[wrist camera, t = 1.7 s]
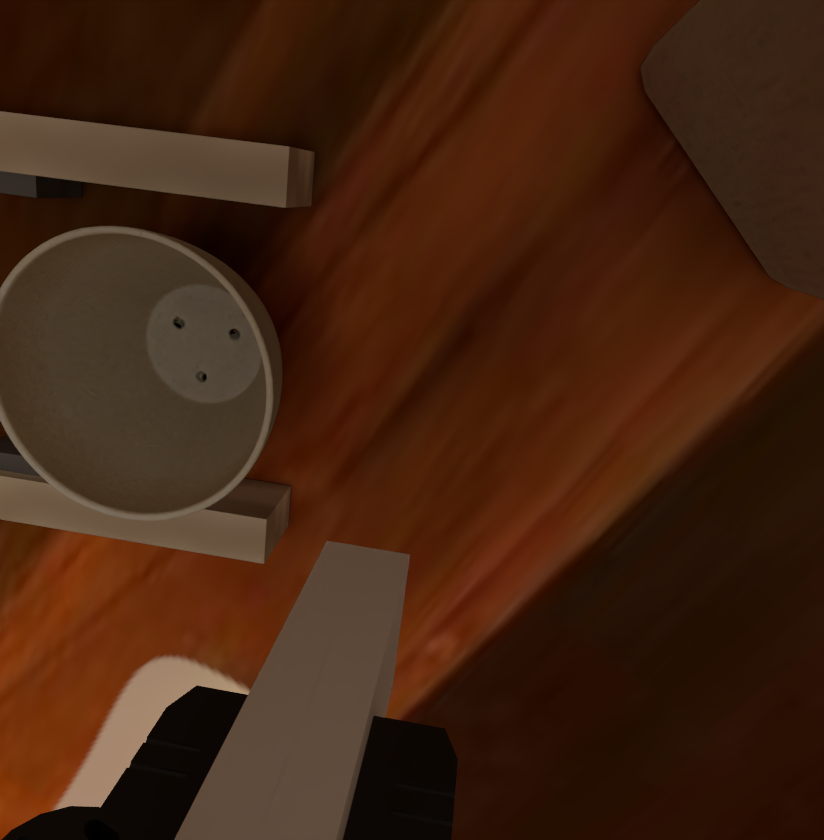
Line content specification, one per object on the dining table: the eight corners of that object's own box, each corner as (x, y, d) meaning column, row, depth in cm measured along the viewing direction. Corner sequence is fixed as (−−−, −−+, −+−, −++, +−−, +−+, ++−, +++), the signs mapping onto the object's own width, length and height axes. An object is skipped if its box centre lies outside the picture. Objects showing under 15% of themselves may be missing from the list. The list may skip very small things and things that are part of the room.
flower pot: (369, 384, 30) (330, 439, 24) (185, 489, 33) (102, 565, 26) (235, 169, 28) (151, 161, 22) (51, 298, 31) (-77, 327, 24)
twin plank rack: (-120, 98, 29) (-200, 86, 26) (314, 152, 28) (289, 146, 24) (-83, 465, 34) (-146, 494, 31) (288, 526, 33) (264, 564, 29)
